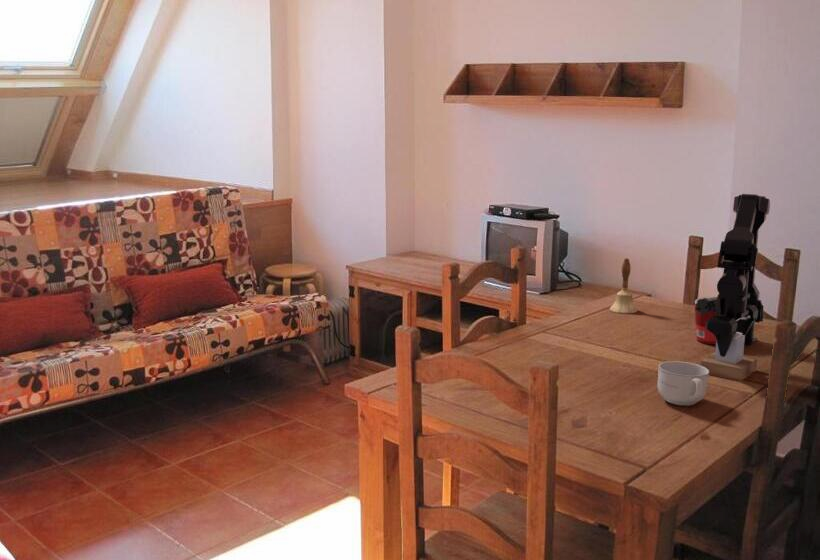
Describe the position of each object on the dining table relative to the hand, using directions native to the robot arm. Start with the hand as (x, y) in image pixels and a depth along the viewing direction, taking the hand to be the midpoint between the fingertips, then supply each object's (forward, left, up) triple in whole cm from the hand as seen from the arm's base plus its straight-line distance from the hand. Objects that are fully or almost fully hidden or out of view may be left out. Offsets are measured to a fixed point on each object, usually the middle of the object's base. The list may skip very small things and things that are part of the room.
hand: (729, 351), depth 220 cm
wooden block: (0, 0, -6) cm, 6 cm away
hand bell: (-35, -45, -5) cm, 57 cm away
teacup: (+27, 0, -5) cm, 27 cm away
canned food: (-21, -12, -5) cm, 25 cm away
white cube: (0, 0, -2) cm, 2 cm away
